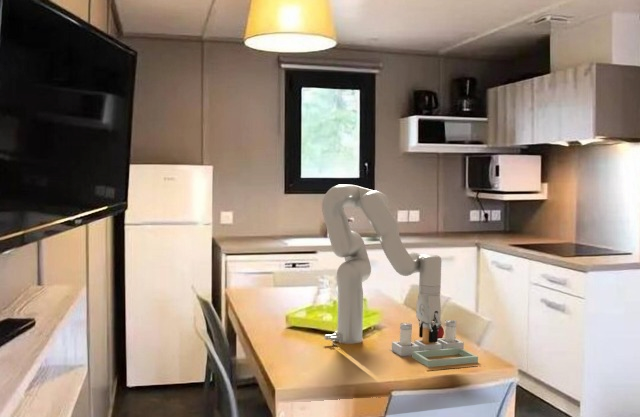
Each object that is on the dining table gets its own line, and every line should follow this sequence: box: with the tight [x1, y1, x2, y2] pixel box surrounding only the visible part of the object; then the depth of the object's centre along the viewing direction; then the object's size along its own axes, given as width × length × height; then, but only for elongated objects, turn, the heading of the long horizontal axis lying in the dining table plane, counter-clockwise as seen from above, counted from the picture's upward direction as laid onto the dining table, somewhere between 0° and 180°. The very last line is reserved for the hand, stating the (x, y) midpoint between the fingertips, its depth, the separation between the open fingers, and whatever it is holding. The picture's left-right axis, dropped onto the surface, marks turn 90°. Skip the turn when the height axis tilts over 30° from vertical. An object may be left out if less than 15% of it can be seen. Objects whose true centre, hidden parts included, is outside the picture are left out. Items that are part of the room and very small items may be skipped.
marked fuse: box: [421, 322, 434, 345], centre depth 219 cm, size 4×4×10 cm
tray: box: [411, 348, 479, 372], centre depth 208 cm, size 19×11×4 cm, turn 109°
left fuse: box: [399, 322, 413, 346], centre depth 216 cm, size 4×4×10 cm
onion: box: [434, 324, 445, 339], centre depth 237 cm, size 6×6×8 cm
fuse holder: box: [389, 337, 465, 358], centre depth 219 cm, size 26×9×4 cm, turn 109°
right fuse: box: [444, 319, 458, 343], centre depth 221 cm, size 4×4×10 cm
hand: (428, 339), depth 219 cm, fingers open, 6 cm apart
